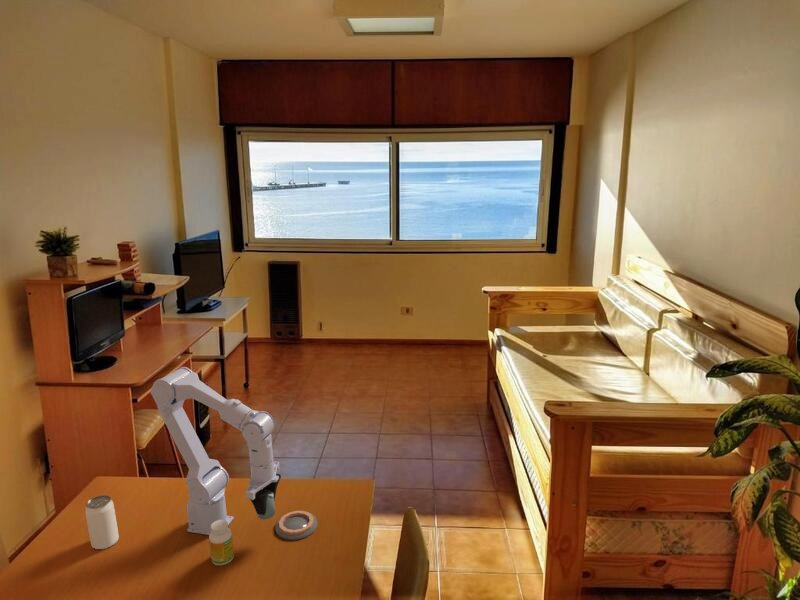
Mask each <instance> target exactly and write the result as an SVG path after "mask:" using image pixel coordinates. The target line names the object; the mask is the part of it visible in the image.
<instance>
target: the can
mask: <svg viewBox="0 0 800 600" xmlns="http://www.w3.org/2000/svg"><path fill="white" fill-rule="evenodd" d="M84 514H85V519H86V523H87V530H88V536H89V540H90V545H91V547H92V548H93V549H94V548H95V550H97V549H102V550H106V549H108V547H109V548H111V547H113V546H114V545H115V544H117V542H118V541H119V538H120V535H119V530H118V529H119V528H118V523H117V516H116V515H117V514H116V510H115V506H114V501H113V500H112V498H111V496H109V495H106V494H103V495H96V496H94V497H92V498H91V499H89V500H88V501H87V502H86V504H85V513H84ZM112 545H113V546H112Z"/></svg>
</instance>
